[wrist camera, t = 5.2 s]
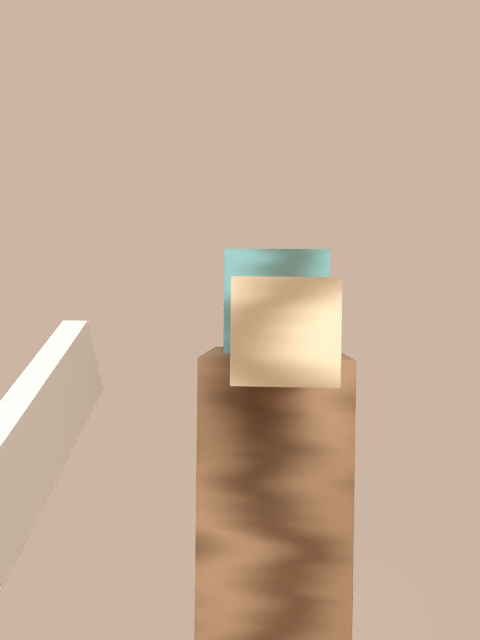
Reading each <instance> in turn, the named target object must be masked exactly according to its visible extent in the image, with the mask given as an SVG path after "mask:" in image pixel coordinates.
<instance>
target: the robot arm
mask: <svg viewBox="0 0 480 640" xmlns="http://www.w3.org/2000/svg"><path fill="white" fill-rule="evenodd" d="M102 391H103V387H102V383H101V379H100V374H99V370H98V366H97V361H96V357H95V353H94V348H93V344H92V339H91V335H90V331H89V326H88V322H87V321H63V322H62V323H61V324H60V325H59V327H58V328H57V329H56V331H55V332H54V333H53V335H52V336H51V337H50V338H49V340H48V341H47V342H46V343H45V345H44V346H43V347H42V349H41V350H40V351H39V352H38V354H37V355H36V356H35V358H34V359H33V360H32V361H31V363H30V364H29V365H28V367H27V368H26V369H25V370H24V372H23V373H22V374H21V376H20V377H19V378H18V379H17V380H16V382H15V383H14V385H13V386H12V387H11V388H10V389H9V391H8V392H7V393H6V395H5V396H4V397H3V398H2V400H1V401H0V589H3V587H4V585H5V583H6V581H7V579H8V577H9V575H10V573H11V571H12V569H13V567H14V565H15V563H16V561H17V559H18V557H19V555H20V553H21V551H22V549H23V547H24V545H25V544H26V541H27V540H28V538H29V536H30V534H31V532H32V530H33V528H34V525H35V524H36V522H37V520H38V518H39V516H40V514H41V512H42V510H43V508H44V506H45V504H46V502H47V500H48V498H49V496H50V494H51V492H52V490H53V488H54V486H55V484H56V482H57V480H58V478H59V476H60V474H61V472H62V470H63V469H64V467H65V465H66V463H67V460H68V459H69V457H70V455H71V453H72V451H73V449H74V447H75V445H76V443H77V441H78V439H79V437H80V435H81V433H82V431H83V429H84V427H85V425H86V423H87V421H88V419H89V417H90V415H91V413H92V411H93V409H94V407H95V405H96V403H97V401H98V399H99V397H100V395H101V393H102Z"/></svg>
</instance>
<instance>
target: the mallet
mask: <svg viewBox="0 0 480 640" xmlns="http://www.w3.org/2000/svg"><path fill="white" fill-rule="evenodd" d="M224 263H225V265H224V346H223V353H230V386H254V387H302V388H341V327H342V326H341V325H342V320H341V319H342V318H341V317H342V277H330V249H225V262H224Z"/></svg>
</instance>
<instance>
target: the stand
mask: <svg viewBox="0 0 480 640" xmlns="http://www.w3.org/2000/svg"><path fill="white" fill-rule="evenodd" d="M197 382H198V384H197V385H198V386H197V470H196V474H197V475H196V476H197V477H196V561H195V562H196V563H195V566H196V567H195V640H352V605H353V604H352V603H353V538H354V472H355V471H354V470H355V468H354V467H355V403H356V360H354V359H352V358H350V357H349V356H346V355H345V354H343V353H341V388H302V387H254V386H230V353H223V347H215V348H213V349H211V350H210V351H208V352H207V353H205V354H203V355H201V356H200V357H198V380H197Z"/></svg>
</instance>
